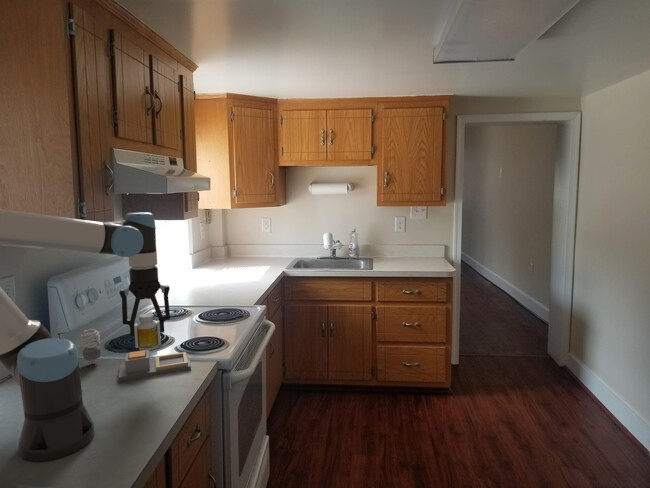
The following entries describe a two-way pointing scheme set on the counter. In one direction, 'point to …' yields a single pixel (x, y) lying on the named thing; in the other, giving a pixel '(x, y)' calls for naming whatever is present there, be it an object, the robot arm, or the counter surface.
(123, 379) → the base
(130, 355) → the switch button
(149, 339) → the supplement bottle
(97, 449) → the counter surface
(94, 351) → the light bulb
